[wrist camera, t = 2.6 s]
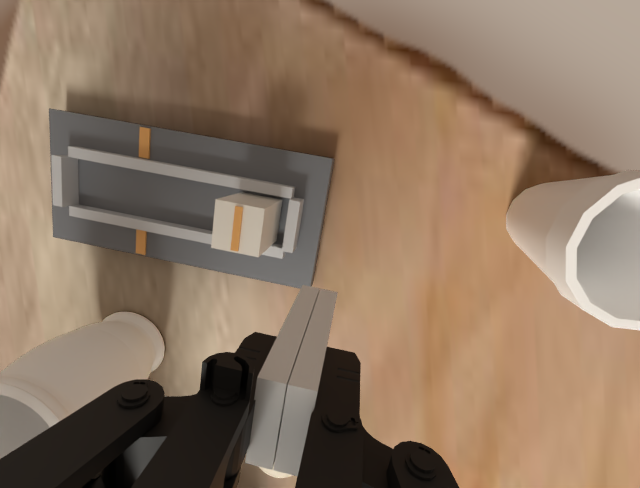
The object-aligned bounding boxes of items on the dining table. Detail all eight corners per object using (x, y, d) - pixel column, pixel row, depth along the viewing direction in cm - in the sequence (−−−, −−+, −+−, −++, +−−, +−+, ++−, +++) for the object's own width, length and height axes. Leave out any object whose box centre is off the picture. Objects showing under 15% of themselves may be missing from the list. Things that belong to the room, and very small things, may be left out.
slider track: (312, 283, 37) (306, 298, 33) (68, 233, 39) (36, 241, 35) (334, 158, 33) (330, 158, 29) (66, 111, 35) (29, 105, 32)
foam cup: (610, 171, 31) (781, 179, 18) (583, 270, 33) (717, 339, 20) (498, 162, 31) (587, 165, 19) (479, 259, 34) (547, 319, 21)
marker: (145, 254, 36) (144, 255, 36) (136, 252, 36) (135, 253, 36) (150, 128, 33) (149, 128, 32) (141, 126, 33) (139, 126, 33)
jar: (162, 298, 39) (45, 379, 25) (183, 378, 42) (87, 495, 27) (80, 306, 41) (-75, 386, 26) (105, 382, 43) (-26, 495, 29)
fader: (276, 240, 34) (257, 258, 28) (237, 232, 34) (209, 248, 28) (282, 199, 33) (264, 209, 27) (241, 192, 33) (214, 199, 27)
